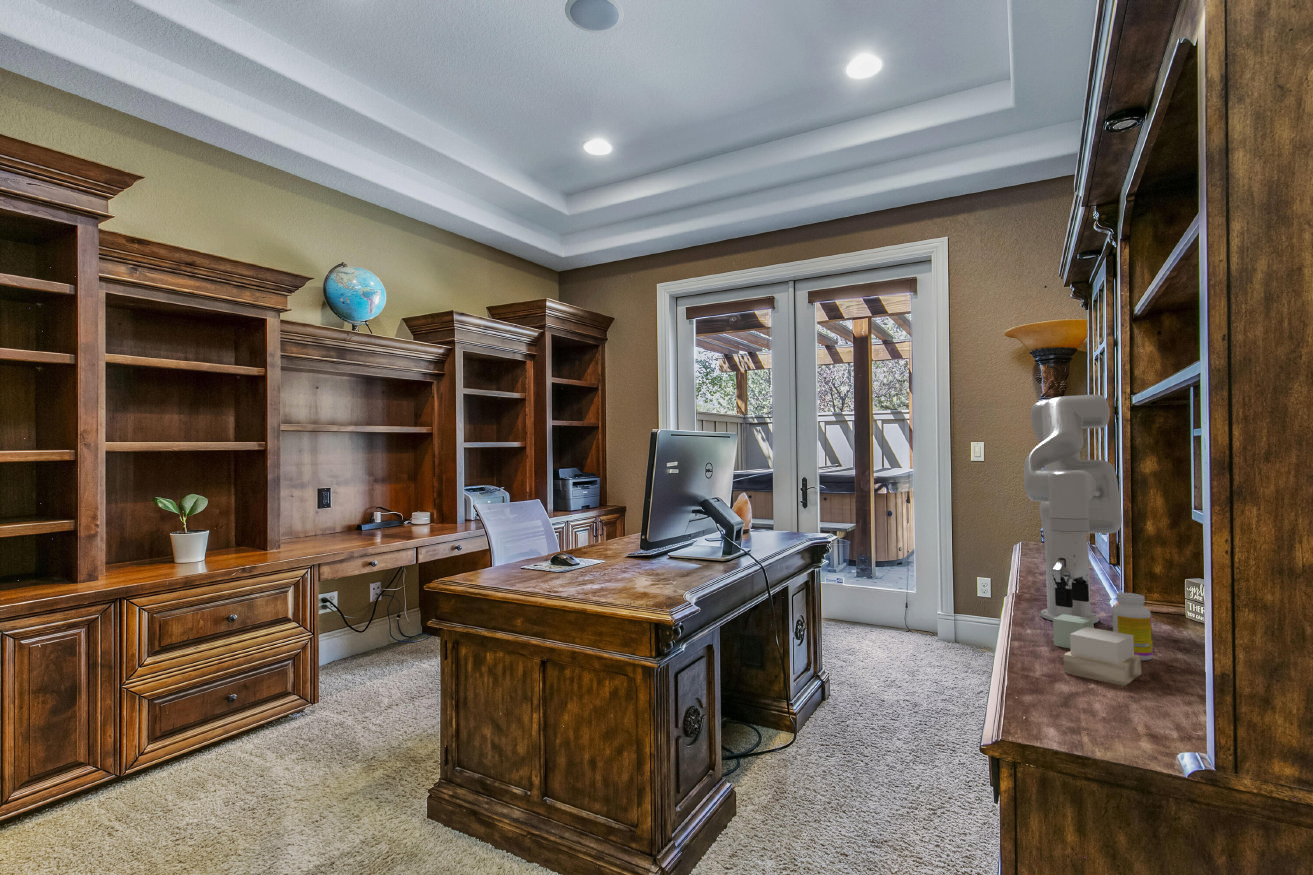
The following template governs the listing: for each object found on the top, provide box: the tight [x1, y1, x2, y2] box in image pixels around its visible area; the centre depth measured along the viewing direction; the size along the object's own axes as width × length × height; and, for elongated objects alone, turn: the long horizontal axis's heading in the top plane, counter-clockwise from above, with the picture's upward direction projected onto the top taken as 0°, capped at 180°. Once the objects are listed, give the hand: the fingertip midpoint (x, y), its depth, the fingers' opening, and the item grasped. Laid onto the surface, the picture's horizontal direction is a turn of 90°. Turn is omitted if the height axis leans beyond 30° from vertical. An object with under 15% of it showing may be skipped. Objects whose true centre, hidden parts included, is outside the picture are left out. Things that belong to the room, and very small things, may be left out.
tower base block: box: [1062, 650, 1143, 687], centre depth 127 cm, size 10×10×4 cm
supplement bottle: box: [1111, 592, 1154, 662], centre depth 136 cm, size 7×7×13 cm
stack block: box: [1052, 614, 1095, 650], centre depth 145 cm, size 6×6×6 cm
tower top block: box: [1069, 627, 1134, 664], centre depth 127 cm, size 8×8×4 cm
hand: (1072, 603), depth 144 cm, fingers open, 9 cm apart
